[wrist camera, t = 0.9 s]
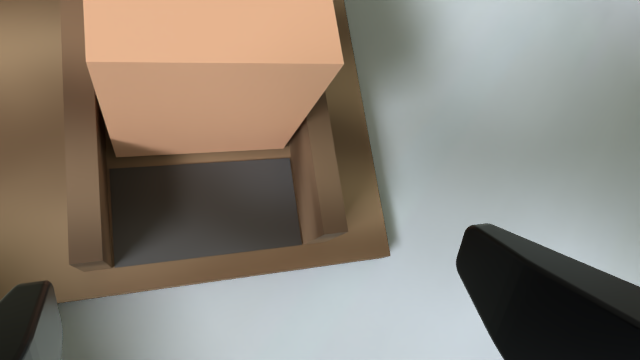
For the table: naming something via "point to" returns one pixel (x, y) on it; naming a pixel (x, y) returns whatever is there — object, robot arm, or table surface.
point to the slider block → (208, 71)
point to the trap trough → (165, 181)
